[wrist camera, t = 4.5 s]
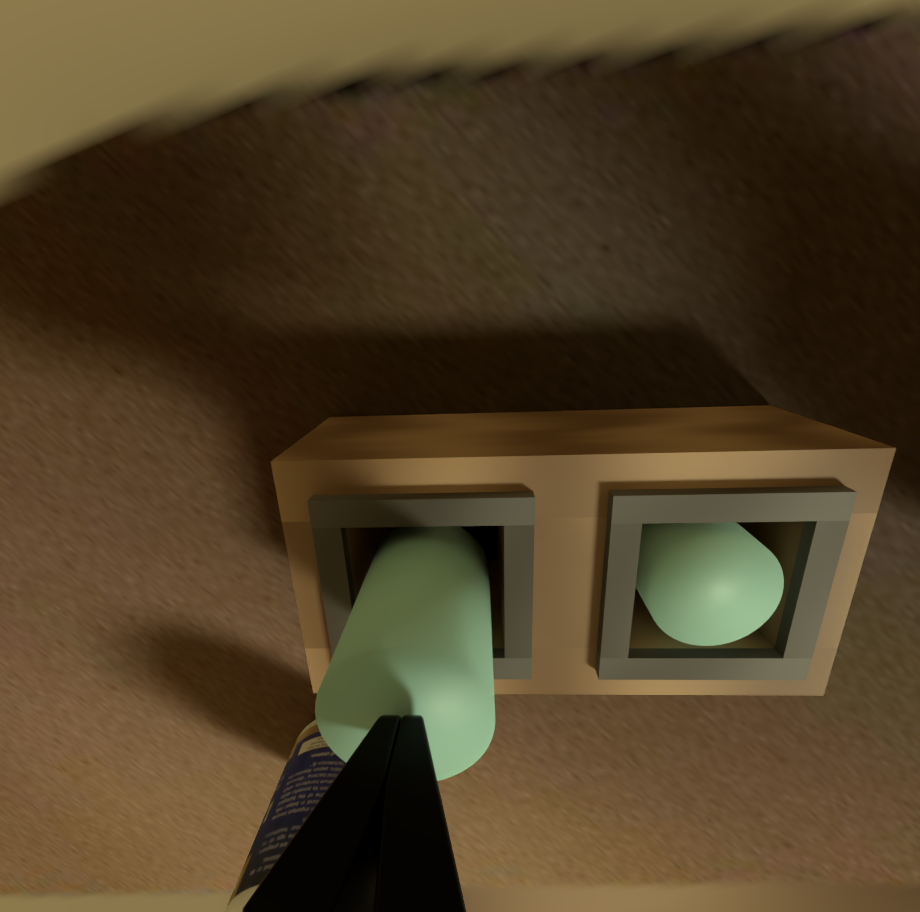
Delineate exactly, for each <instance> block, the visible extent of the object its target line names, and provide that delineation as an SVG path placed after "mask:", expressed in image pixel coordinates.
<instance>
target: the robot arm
mask: <svg viewBox="0 0 920 912" xmlns="http://www.w3.org/2000/svg"><path fill="white" fill-rule="evenodd" d="M242 912H466V909H465V904H464V900H463V895H462V891H461V886H460V882H459V877H458V872H457V868H456V863H455V859H454V854H453V850H452V845H451V841H450V836H449V832H448V827H447V823H446V818H445V814H444V809H443V805H442V800H441V796H440V791H439V787H438V782H437V777H436V773H435V768H434V764H433V759H432V755H431V750H430V746H429V741H428V737H427V732H426V728H425V723H424V719H423V717H422V716H421V715H404V716H403V717H402V718H401V716H399V715H382V716H380V717H379V718H378V719H377V720H376V722H375V723H374V725H373V726H372V727H371V729H370V730H369V732H368V733H367V734H366V736H365V737H364V739H363V740H362V741H361V743H360V744H359V746H358V747H357V748H356V750H355V751H354V753H353V754H352V755H351V757H350V758H349V760H348V761H347V762H346V764H345V765H344V767H343V768H342V769H341V771H340V772H339V774H338V775H337V777H336V778H335V779H334V781H333V782H332V784H331V785H330V786H329V788H328V789H327V791H326V792H325V793H324V795H323V796H322V798H321V799H320V800H319V802H318V803H317V805H316V806H315V807H314V809H313V810H312V812H311V813H310V814H309V816H308V817H307V819H306V820H305V821H304V823H303V824H302V826H301V827H300V829H299V830H298V831H297V833H296V834H295V836H294V837H293V838H292V840H291V841H290V843H289V844H288V845H287V847H286V848H285V850H284V851H283V852H282V854H281V855H280V857H279V858H278V859H277V861H276V862H275V864H274V865H273V866H272V868H271V869H270V871H269V872H268V873H267V875H266V876H265V878H264V879H263V880H262V882H261V883H260V885H259V886H258V888H257V889H256V890H255V892H254V893H253V895H252V896H251V897H250V899H249V900H248V902H247V903H246V904H245V906H244V907H243V910H242Z"/></svg>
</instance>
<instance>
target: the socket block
mask: <svg viewBox="0 0 920 912" xmlns="http://www.w3.org/2000/svg"><path fill="white" fill-rule="evenodd" d="M895 451H896V448H895V447H892V446H889V445H886V444H883V443H880V442H877V441H874V440H871V439H868V438H865V437H862V436H860V435H857V434H854V433H851V432H848V431H845V430H842V429H839V428H836V427H833V426H830V425H827V424H824V423H821V422H818V421H815V420H813V419H810V418H807V417H804V416H801V415H798V414H795V413H792V412H789V411H786V410H783V409H780V408H777V407H774V406H771V405H766V406H728V407H690V408H652V409H614V410H576V411H538V412H501V413H463V414H425V415H387V416H349V417H329V418H328V419H327V420H325V421H324V422H323V423H321V424H320V425H319V426H317V427H316V428H315V429H313V430H312V431H311V432H309V433H308V434H307V435H305V436H304V437H303V438H301V439H300V440H299V441H297V442H296V443H295V444H293V445H292V446H291V447H289V448H288V449H287V450H285V451H284V452H283V453H281V454H280V455H279V456H277V457H276V458H275V459H273V460H272V461H271V467H272V472H273V478H274V483H275V489H276V494H277V499H278V505H279V510H280V516H281V521H282V527H283V532H284V538H285V543H286V548H287V554H288V559H289V565H290V570H291V576H292V581H293V586H294V592H295V597H296V603H297V608H298V614H299V619H300V624H301V630H302V635H303V641H304V646H305V652H306V657H307V663H308V668H309V673H310V679H311V684H312V690H313V693H318V690H319V688H320V686H321V683H322V681H323V678H324V676H325V674H326V671H327V669H328V666H329V664H330V661H331V659H332V657H333V654H334V652H335V649H336V647H337V645H338V642H339V640H340V637H341V635H342V633H343V630H344V628H345V625H346V623H347V621H348V618H349V616H350V613H351V611H352V609H353V606H354V604H355V601H356V599H357V596H358V594H359V592H360V589H361V587H362V584H363V582H364V580H365V577H366V575H367V572H368V570H369V568H370V565H371V563H372V560H373V558H374V556H375V553H376V551H377V549H378V546H379V545H380V543H381V542H382V540H383V539H384V538H385V537H386V536H387V535H388V534H389V528H388V527H437V526H497V560H488V564H489V579H490V604H491V628H492V653H493V677H494V694H617V695H824V692H825V689H826V685H827V682H828V679H829V675H830V672H831V668H832V665H833V662H834V658H835V655H836V651H837V648H838V645H839V641H840V638H841V634H842V631H843V628H844V624H845V621H846V617H847V614H848V611H849V607H850V604H851V600H852V597H853V594H854V590H855V587H856V583H857V580H858V577H859V573H860V570H861V566H862V563H863V560H864V556H865V553H866V549H867V546H868V543H869V539H870V536H871V532H872V529H873V526H874V522H875V519H876V515H877V512H878V509H879V505H880V502H881V498H882V495H883V492H884V488H885V485H886V481H887V478H888V474H889V471H890V468H891V464H892V461H893V457H894V454H895ZM723 522H736V523H738V524H739V525H740V526H741V527H742V528H744V529H745V530H746V531H747V532H748V533H750V534H751V535H752V536H753V537H754V538H756V539H757V540H758V541H759V542H760V543H761V544H763V545H764V546H765V547H766V548H767V549H769V550H770V551H771V552H772V553H773V554H774V556H775V557H776V558H777V560H778V562H779V563H780V566H781V568H782V571H783V577H784V588H783V594H782V597H781V600H780V602H779V604H778V606H777V608H776V610H775V611H774V613H773V614H772V615H771V616H770V618H769V619H768V620H767V621H766V622H765V623H764V624H763V625H762V626H760V627H759V628H758V629H757V630H755V631H754V632H752V633H750V634H749V635H747V636H745V637H743V638H741V639H738V640H736V641H733V642H730V643H726V644H721V645H715V646H697V645H691V644H687V643H683V642H681V641H678V640H676V639H674V638H672V637H670V636H669V635H667V634H666V633H665V632H664V631H662V630H661V628H660V627H659V626H658V625H657V624H656V622H655V621H654V619H653V617H652V616H651V614H650V612H649V610H648V608H647V607H646V605H645V603H644V601H643V599H642V598H641V596H640V594H639V592H638V590H637V589H636V578H637V569H638V560H639V550H640V541H641V531H642V524H651V523H723Z"/></svg>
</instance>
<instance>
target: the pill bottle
mask: <svg viewBox="0 0 920 912" xmlns="http://www.w3.org/2000/svg"><path fill="white" fill-rule="evenodd" d="M345 764H346V762H344V761H343V760H342V759H340V758H339V757H338V756H337V755H336V754H335V753H334V752H333V751H332V750H331V748H330V747H329V746H328V745H327V743H326V742H325V740H324V739H323V737H322V735H321V733H320V731H319V728H318V725H317V722H316V720H314V721H312V722H311V723H310V724H309V725H307V726H306V727H305V728H304V729H303V731H302V732H301V733H300V735H299V737H298V738H297V740H296V743H295V745H294V747H293V749H292V752H291V754H290V756H289V759H288V761H287V763H286V766H285V768H284V771H283V773H282V775H281V778H280V780H279V782H278V785H277V788H276V790H275V792H274V795H273V797H272V799H271V802H270V804H269V807H268V809H267V812H266V814H265V816H264V818H263V821H262V823H261V826H260V828H259V831H258V833H257V835H256V838H255V840H254V843H253V845H252V847H251V850H250V852H249V855H248V857H247V860H246V862H245V864H244V867H243V869H242V872H241V874H240V876H239V879H238V881H237V883H236V886H235V888H234V891H233V893H232V896H231V898H230V900H229V903H228V906H227V908H226V911H225V912H242V910H243V907H244V906H245V904H246V903H247V902H248V900H249V899H250V897H251V896H252V895H253V893H254V892H255V890H256V889H257V888H258V886H259V885H260V883H261V882H262V880H263V879H264V878H265V876H266V875H267V873H268V872H269V871H270V869H271V868H272V866H273V865H274V864H275V862H276V861H277V859H278V858H279V857H280V855H281V854H282V852H283V851H284V850H285V848H286V847H287V845H288V844H289V843H290V841H291V840H292V838H293V837H294V836H295V834H296V833H297V831H298V830H299V829H300V827H301V826H302V824H303V823H304V821H305V820H306V819H307V817H308V816H309V814H310V813H311V812H312V810H313V809H314V807H315V806H316V805H317V803H318V802H319V800H320V799H321V798H322V796H323V795H324V793H325V792H326V791H327V789H328V788H329V786H330V785H331V784H332V782H333V781H334V779H335V778H336V777H337V775H338V774H339V772H340V771H341V769H342V768H343V767H344V765H345Z"/></svg>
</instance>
